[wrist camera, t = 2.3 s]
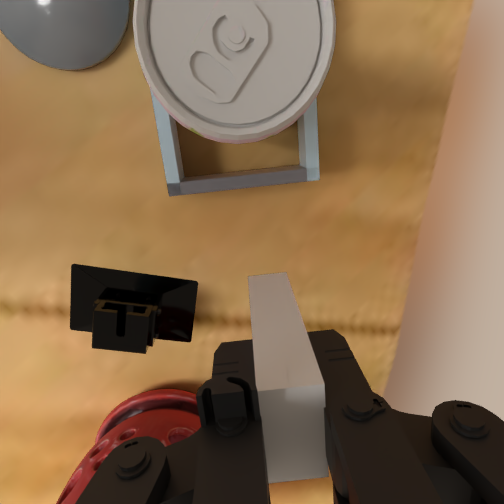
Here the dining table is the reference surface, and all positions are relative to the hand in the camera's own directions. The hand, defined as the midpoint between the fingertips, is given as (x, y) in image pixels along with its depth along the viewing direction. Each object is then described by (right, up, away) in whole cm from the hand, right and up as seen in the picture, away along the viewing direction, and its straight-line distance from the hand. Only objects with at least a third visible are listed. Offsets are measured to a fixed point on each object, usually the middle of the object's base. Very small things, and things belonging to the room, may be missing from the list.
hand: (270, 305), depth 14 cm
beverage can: (-2, +13, +9) cm, 16 cm away
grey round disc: (-12, +17, +7) cm, 22 cm away
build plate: (-10, -2, +14) cm, 18 cm away
